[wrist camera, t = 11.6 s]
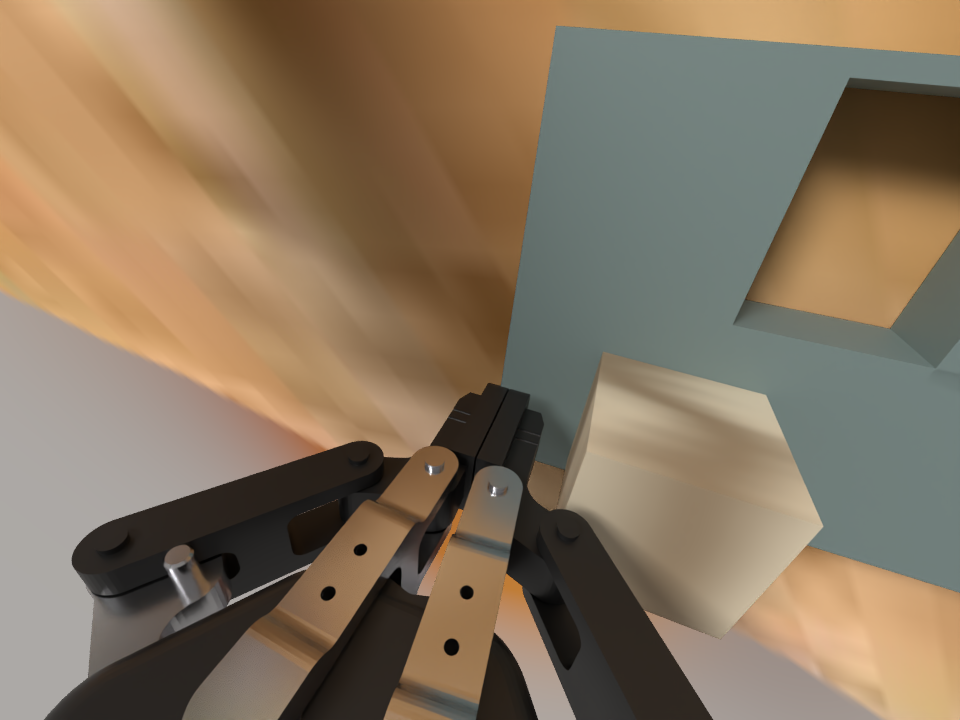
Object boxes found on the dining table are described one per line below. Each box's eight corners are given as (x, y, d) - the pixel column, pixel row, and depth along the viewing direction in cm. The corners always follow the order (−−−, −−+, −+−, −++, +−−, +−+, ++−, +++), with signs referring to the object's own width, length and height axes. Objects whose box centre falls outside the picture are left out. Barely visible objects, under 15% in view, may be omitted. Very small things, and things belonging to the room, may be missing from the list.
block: (567, 458, 17) (543, 571, 12) (603, 351, 14) (586, 451, 10) (700, 501, 16) (720, 639, 11) (765, 394, 13) (823, 526, 9)
